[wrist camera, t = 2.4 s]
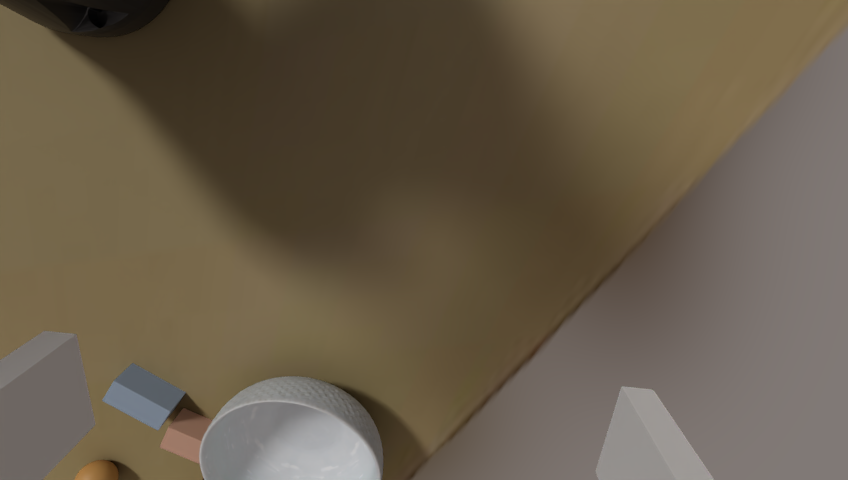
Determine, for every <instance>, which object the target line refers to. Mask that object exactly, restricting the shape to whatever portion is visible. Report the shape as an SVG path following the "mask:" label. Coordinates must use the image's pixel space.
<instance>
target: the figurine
mask: <svg viewBox="0 0 848 480" xmlns="http://www.w3.org/2000/svg"><path fill="white" fill-rule="evenodd" d="M118 477H119V473H118V469H117V467H116V466H115V464H113V463H112V462H110V461H107V460H97V461H93V462H91V463H89V464H87V465H86V466H84V467H83V468H82V469H81V470H80V471H79V472H78V474H77V475H76V477H75V480H118Z"/></svg>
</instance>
